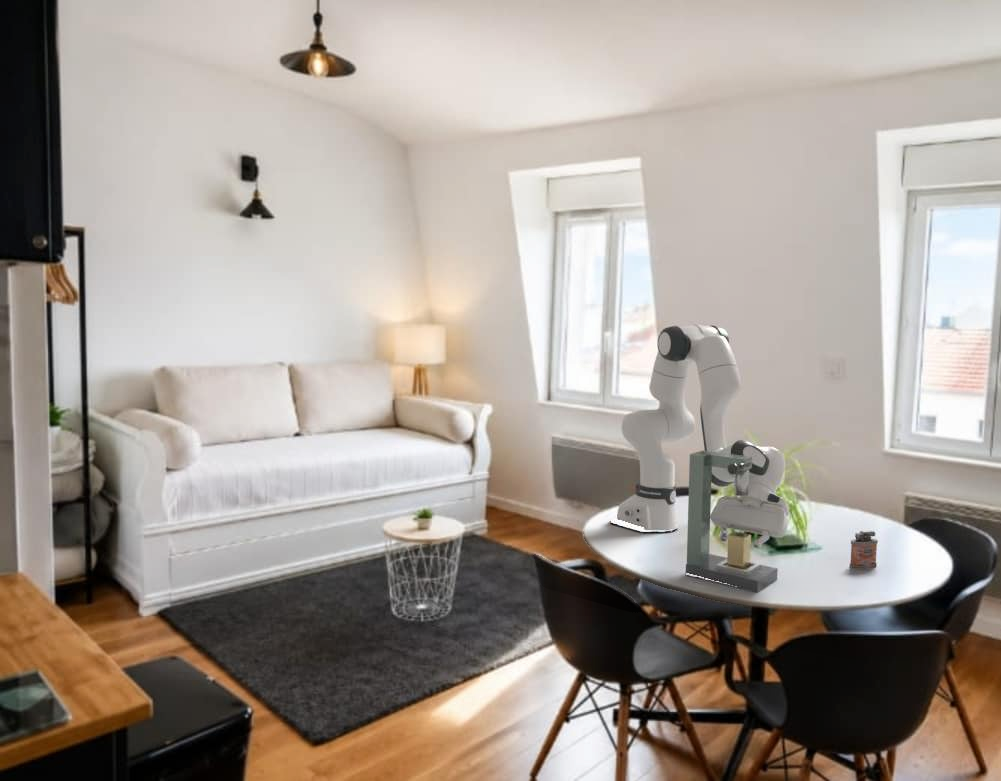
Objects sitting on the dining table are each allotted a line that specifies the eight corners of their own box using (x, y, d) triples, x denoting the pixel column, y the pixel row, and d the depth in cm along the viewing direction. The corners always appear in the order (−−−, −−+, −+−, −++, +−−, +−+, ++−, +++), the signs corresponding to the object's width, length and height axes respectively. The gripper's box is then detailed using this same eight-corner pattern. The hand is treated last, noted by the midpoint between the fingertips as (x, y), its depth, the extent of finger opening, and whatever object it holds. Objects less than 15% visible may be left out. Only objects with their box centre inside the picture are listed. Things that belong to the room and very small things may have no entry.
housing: (727, 568, 214) (728, 534, 213) (734, 564, 217) (735, 531, 216) (742, 571, 211) (744, 537, 210) (749, 567, 214) (751, 534, 213)
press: (676, 580, 213) (680, 457, 210) (707, 563, 227) (710, 448, 224) (749, 597, 200) (754, 466, 197) (777, 579, 214) (782, 456, 211)
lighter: (855, 569, 222) (856, 534, 221) (846, 565, 226) (848, 531, 225) (879, 567, 225) (881, 532, 224) (870, 563, 228) (872, 528, 227)
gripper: (716, 488, 225) (699, 529, 218) (789, 499, 211) (773, 544, 205) (723, 501, 228) (706, 542, 222) (795, 513, 215) (779, 557, 209)
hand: (739, 543), depth 213 cm, fingers open, 8 cm apart
